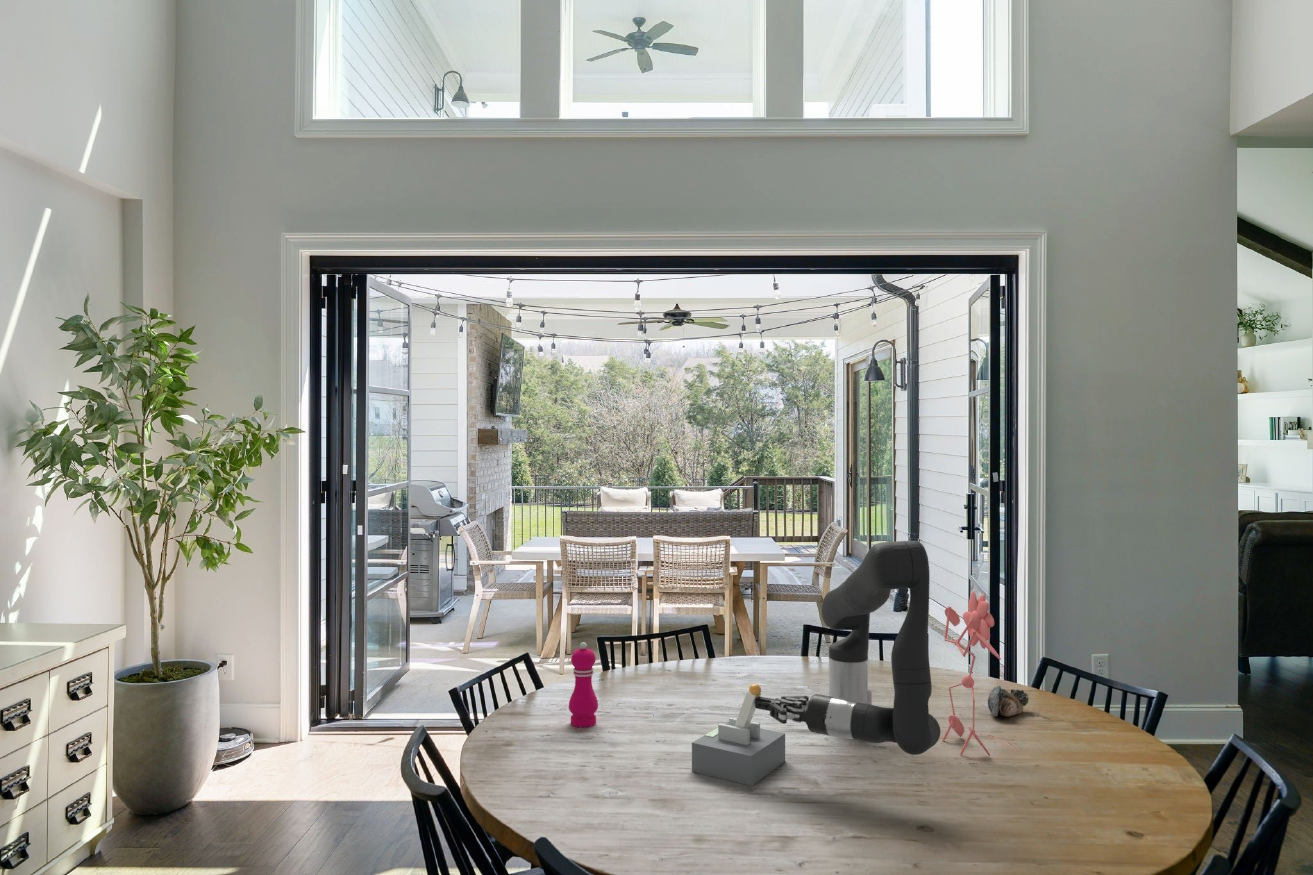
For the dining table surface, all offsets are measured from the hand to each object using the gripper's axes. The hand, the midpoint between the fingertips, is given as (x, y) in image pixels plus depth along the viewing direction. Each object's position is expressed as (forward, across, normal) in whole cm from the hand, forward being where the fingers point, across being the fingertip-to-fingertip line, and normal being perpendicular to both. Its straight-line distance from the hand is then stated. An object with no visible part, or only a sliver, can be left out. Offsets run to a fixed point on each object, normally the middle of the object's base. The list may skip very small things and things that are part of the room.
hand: (756, 702), depth 180 cm
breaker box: (+4, 0, +14) cm, 15 cm away
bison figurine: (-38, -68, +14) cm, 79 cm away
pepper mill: (+49, -4, +15) cm, 51 cm away
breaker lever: (+4, 0, +7) cm, 8 cm away
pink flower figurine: (-37, -40, +14) cm, 56 cm away
